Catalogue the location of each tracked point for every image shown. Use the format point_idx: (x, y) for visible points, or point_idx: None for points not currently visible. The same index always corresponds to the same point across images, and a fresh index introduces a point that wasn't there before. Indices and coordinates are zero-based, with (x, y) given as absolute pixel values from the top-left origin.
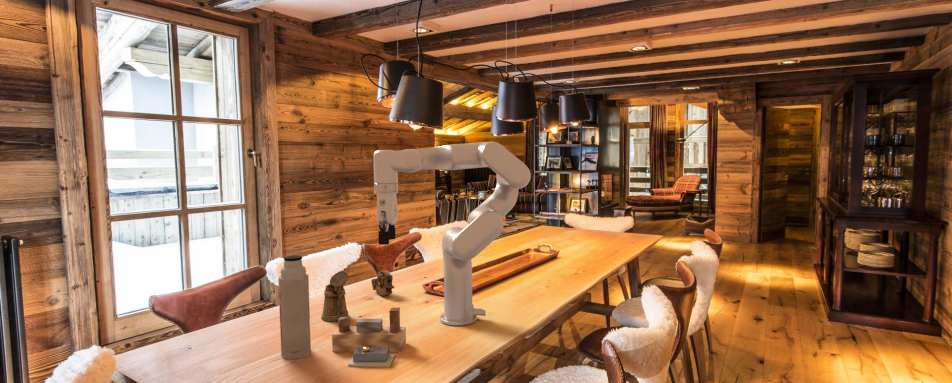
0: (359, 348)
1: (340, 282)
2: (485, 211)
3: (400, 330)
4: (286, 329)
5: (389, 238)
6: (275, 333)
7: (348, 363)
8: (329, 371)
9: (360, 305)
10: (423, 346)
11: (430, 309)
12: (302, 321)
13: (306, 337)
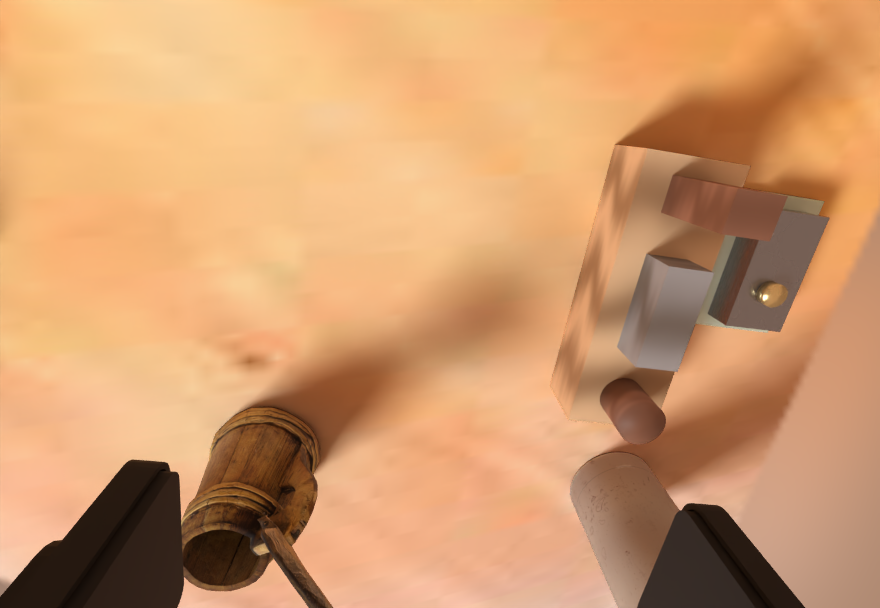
0: (743, 316)
1: (294, 553)
2: None
3: (692, 172)
4: None
5: (178, 552)
6: (426, 576)
7: (763, 331)
8: (778, 373)
9: (87, 383)
10: (672, 64)
11: (121, 10)
12: None
13: (663, 496)
